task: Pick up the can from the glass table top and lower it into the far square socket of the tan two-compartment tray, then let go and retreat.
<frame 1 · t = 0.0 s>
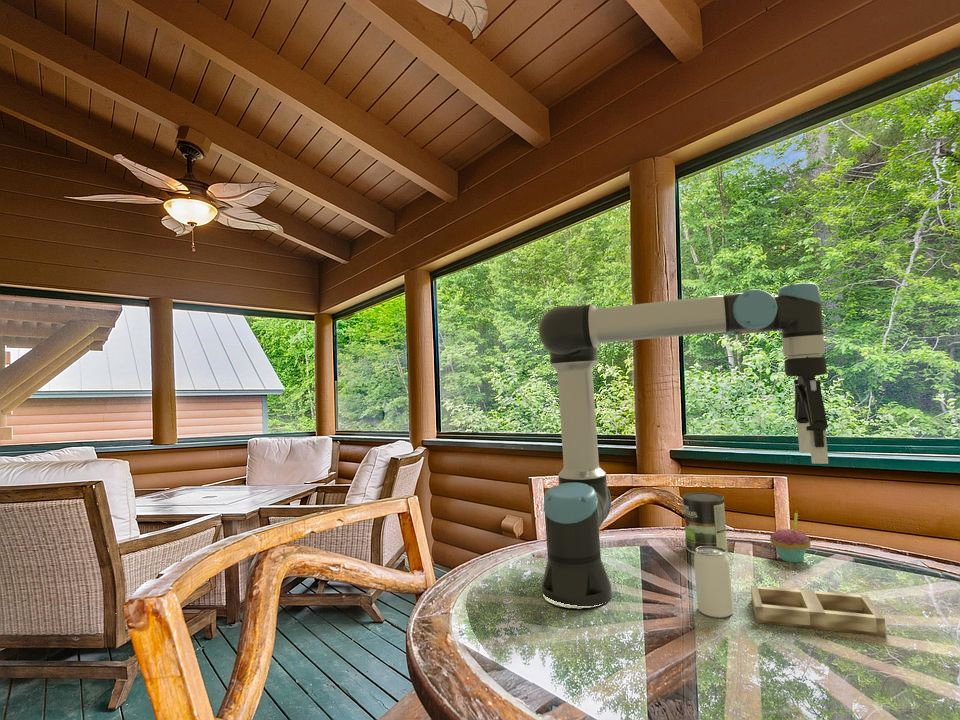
hand: (813, 457, 110), 28 cm above the table, tool pointing down, fingers open, 13 cm apart
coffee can: (707, 550, 138), on the table
can: (715, 612, 104), on the table
tan two-compartment tray: (813, 616, 99), on the table
cupcake: (791, 560, 128), on the table
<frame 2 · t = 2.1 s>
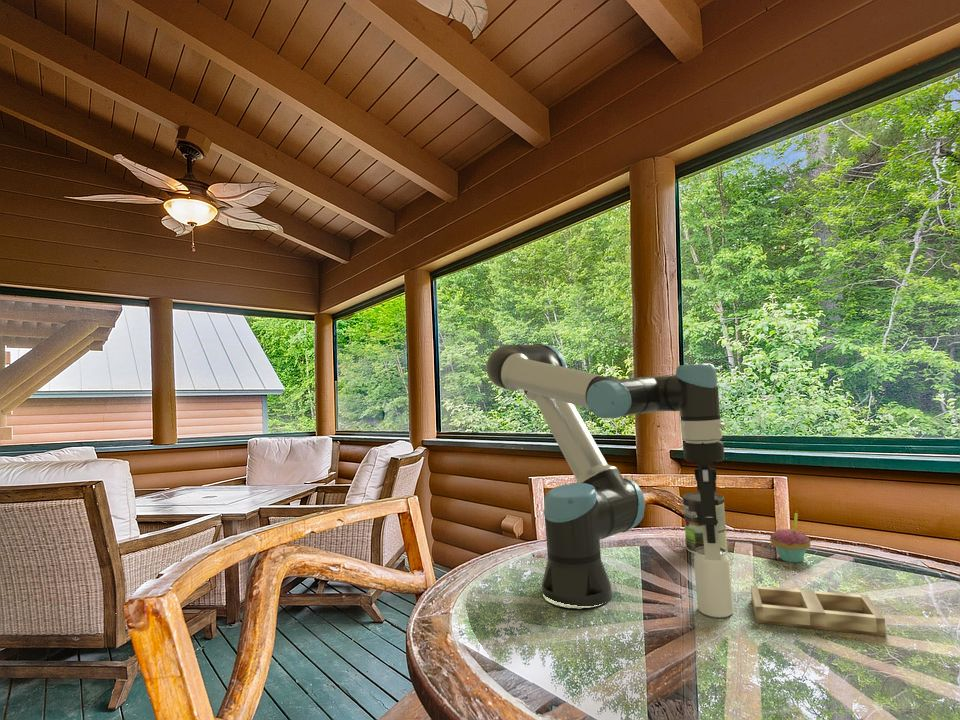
hand: (712, 548, 104), 12 cm above the table, tool pointing down, fingers open, 13 cm apart
nothing on the table moved.
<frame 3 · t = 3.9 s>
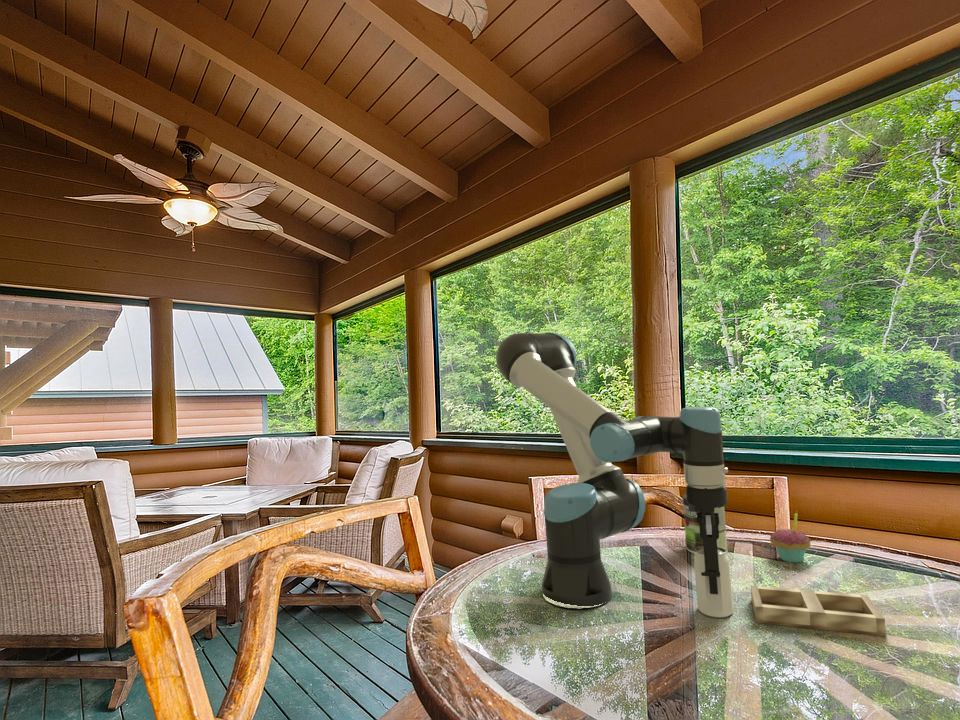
hand: (714, 601, 104), 2 cm above the table, tool pointing down, fingers closed on can, 6 cm apart
can: (715, 612, 104), on the table, touching gripper
everything else where it was.
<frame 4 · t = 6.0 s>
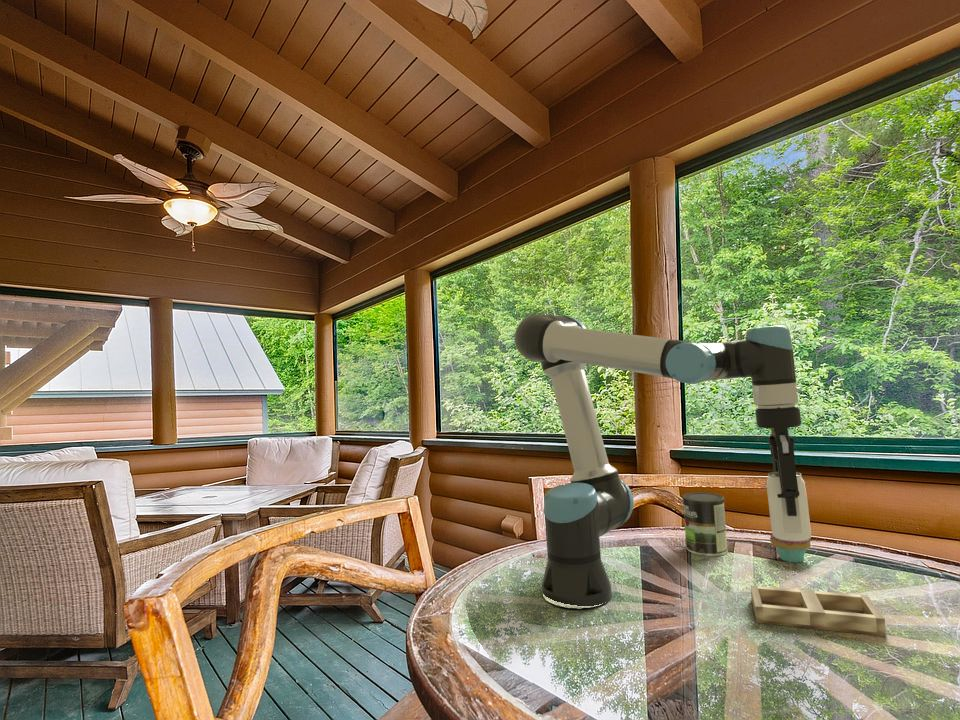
hand: (790, 527, 100), 17 cm above the table, tool pointing down, fingers closed on can, 6 cm apart
can: (791, 538, 99), point 15 cm above the table, touching gripper
everything else where it was.
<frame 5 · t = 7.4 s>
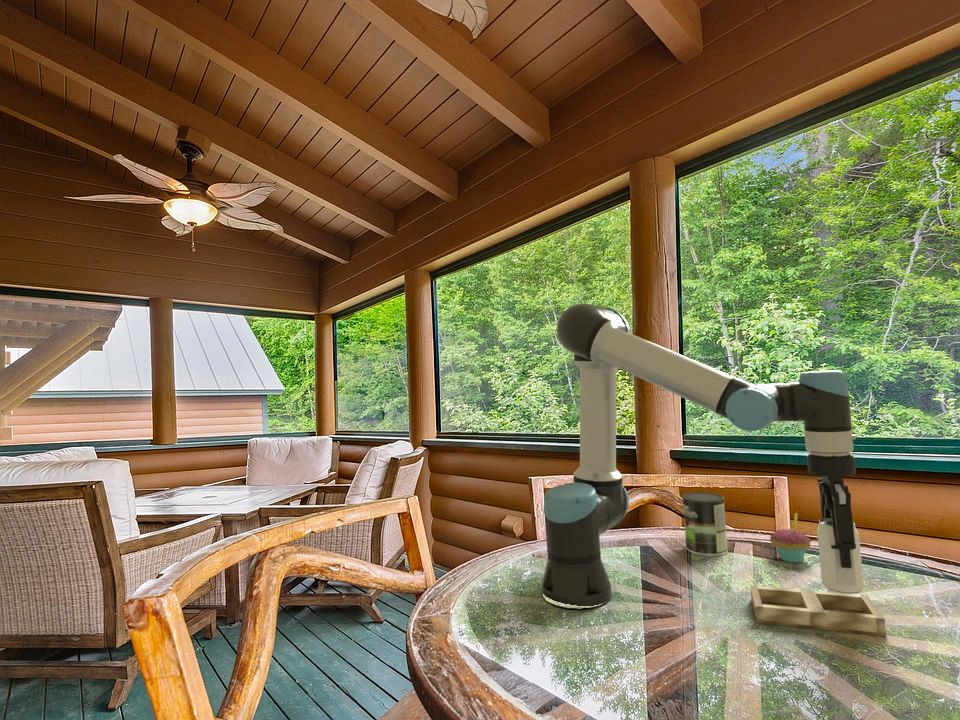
hand: (841, 576, 97), 8 cm above the table, tool pointing down, fingers closed on can, 6 cm apart
can: (842, 588, 97), point 6 cm above the table, touching gripper
everything else where it was.
when the fingers open (4 cm above the table, at t = 8.4 s): can drops 2 cm, resting on tan two-compartment tray.
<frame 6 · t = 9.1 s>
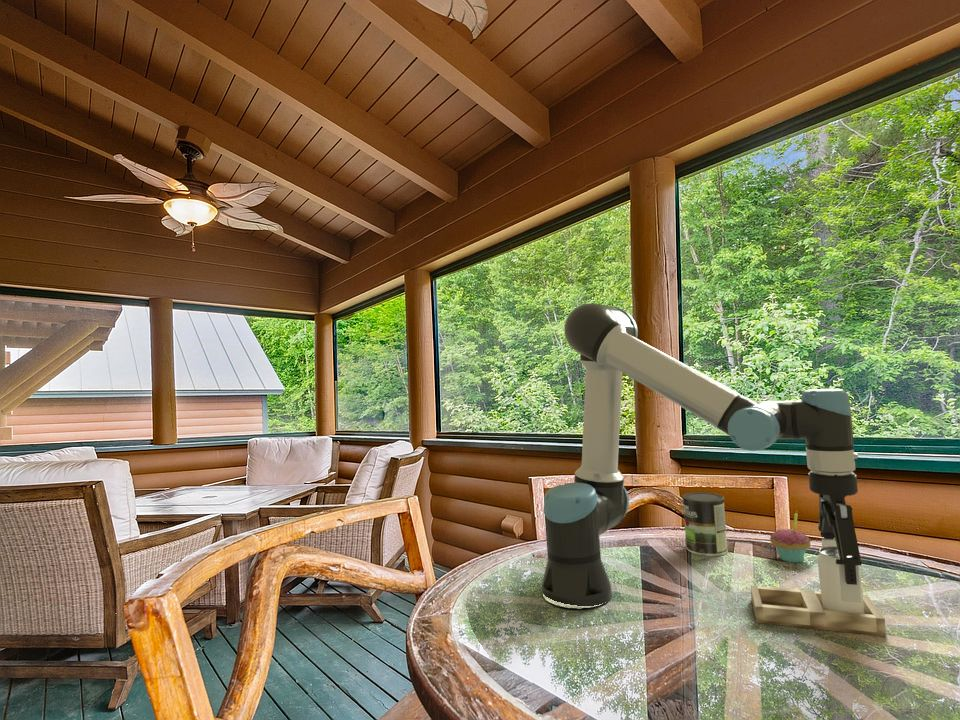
hand: (841, 586, 97), 6 cm above the table, tool pointing down, fingers open, 13 cm apart
can: (843, 617, 97), resting on tan two-compartment tray
everything else where it was.
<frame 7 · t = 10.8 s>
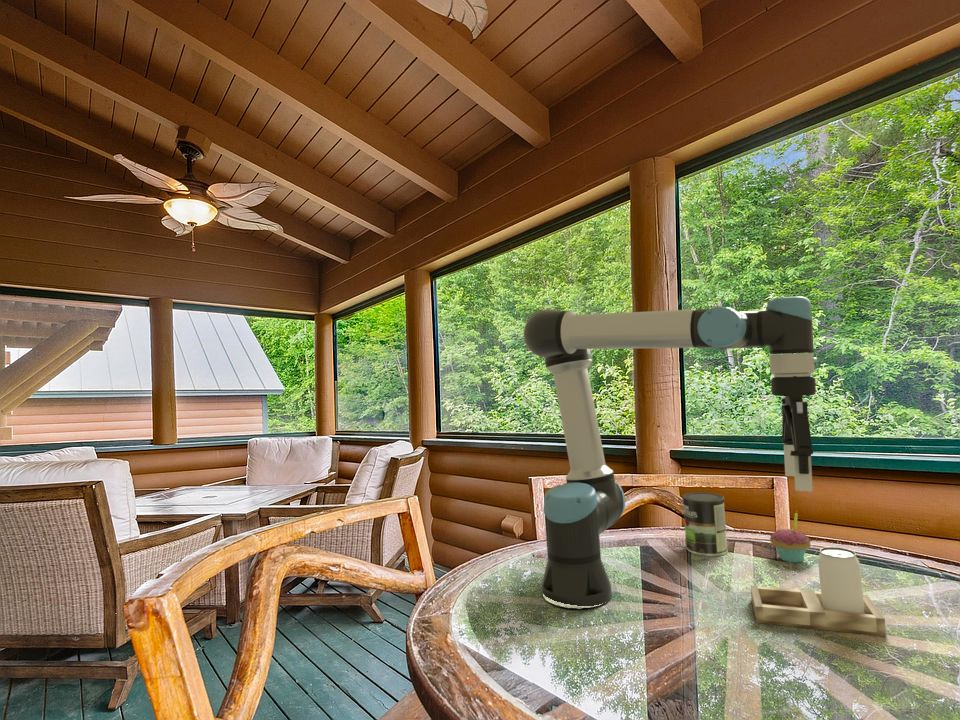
hand: (798, 483, 103), 24 cm above the table, tool pointing down, fingers open, 13 cm apart
nothing on the table moved.
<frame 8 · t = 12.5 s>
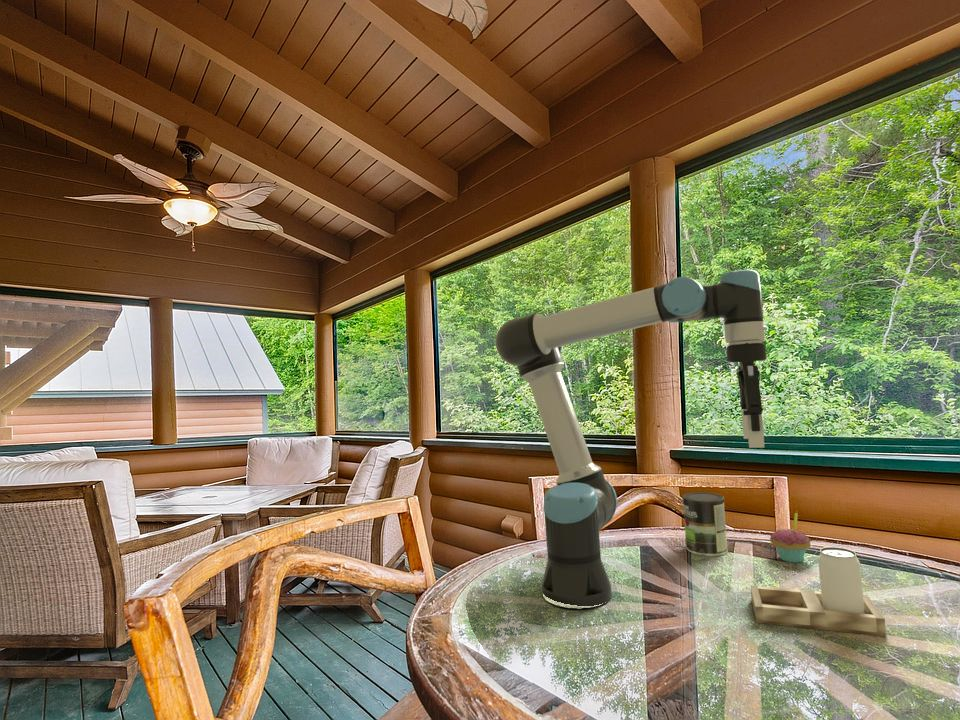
hand: (753, 442, 111), 32 cm above the table, tool pointing down, fingers open, 13 cm apart
nothing on the table moved.
at the end: can 0.0 cm from the target spot on the tan two-compartment tray, point 0.3 cm above the tan two-compartment tray's base; can tilted 0°; the gripper is holding nothing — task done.
